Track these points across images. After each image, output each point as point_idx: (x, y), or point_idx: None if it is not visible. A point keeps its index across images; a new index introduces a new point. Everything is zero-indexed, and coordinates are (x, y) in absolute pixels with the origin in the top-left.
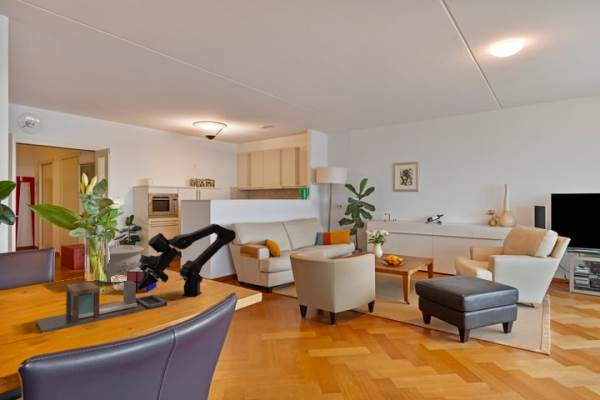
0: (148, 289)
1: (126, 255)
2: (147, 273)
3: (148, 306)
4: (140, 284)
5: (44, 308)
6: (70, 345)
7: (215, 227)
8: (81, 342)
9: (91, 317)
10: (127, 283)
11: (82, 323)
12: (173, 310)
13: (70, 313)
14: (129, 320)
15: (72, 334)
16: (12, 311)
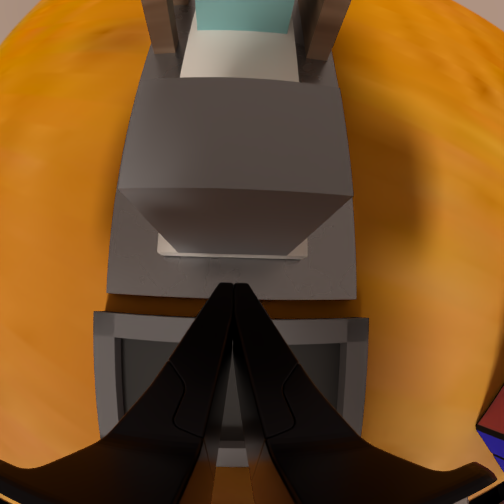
0: (486, 438)
1: None
2: (53, 485)
3: (94, 316)
4: (226, 318)
5: (450, 33)
6: (34, 16)
7: None
8: (24, 31)
9: (181, 34)
10: (200, 85)
11: None
12: (12, 404)
13: (299, 3)
14: (33, 163)
15: (96, 7)
16: (448, 2)
